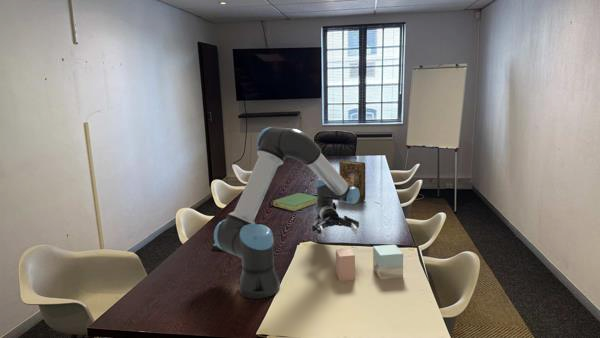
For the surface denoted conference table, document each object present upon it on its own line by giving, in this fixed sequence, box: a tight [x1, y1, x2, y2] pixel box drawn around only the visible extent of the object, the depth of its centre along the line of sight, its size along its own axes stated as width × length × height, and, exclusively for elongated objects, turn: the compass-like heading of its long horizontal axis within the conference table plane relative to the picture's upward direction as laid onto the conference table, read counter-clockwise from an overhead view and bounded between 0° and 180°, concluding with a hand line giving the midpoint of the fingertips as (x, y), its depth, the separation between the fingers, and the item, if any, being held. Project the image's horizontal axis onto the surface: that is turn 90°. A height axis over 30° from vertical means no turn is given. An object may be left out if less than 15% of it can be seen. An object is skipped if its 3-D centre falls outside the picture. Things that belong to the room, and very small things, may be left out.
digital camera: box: [317, 201, 337, 219], centre depth 229 cm, size 10×5×7 cm, turn 132°
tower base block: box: [372, 257, 404, 280], centre depth 157 cm, size 9×9×5 cm
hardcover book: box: [272, 192, 317, 212], centre depth 253 cm, size 25×19×4 cm
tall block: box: [335, 248, 356, 282], centre depth 155 cm, size 6×6×10 cm
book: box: [338, 160, 366, 203], centre depth 256 cm, size 16×6×25 cm, turn 58°
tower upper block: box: [372, 244, 404, 268], centre depth 156 cm, size 9×9×5 cm
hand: (339, 232), depth 162 cm, fingers open, 13 cm apart
